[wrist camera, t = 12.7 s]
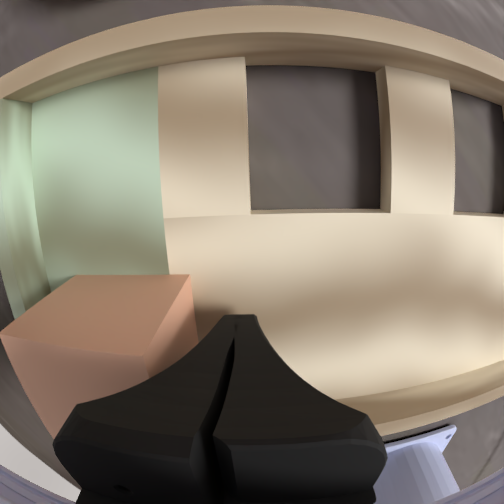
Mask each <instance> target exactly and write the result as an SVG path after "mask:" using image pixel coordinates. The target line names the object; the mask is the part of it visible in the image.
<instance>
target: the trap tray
mask: <svg viewBox="0 0 504 504" xmlns="http://www.w3.org/2000/svg"><path fill="white" fill-rule="evenodd" d="M253 65H298V66H319V67H332V68H343V69H352V70H361V71H368V72H375V74H376V84H377V94H378V107H379V123H380V148H381V197H380V209H276V210H251V198H250V170H249V142H248V114H247V87H246V66H253ZM450 89H453V90H457V91H460V92H463V93H466V94H470V95H473V96H476V97H479V98H481V99H484V100H487V101H490V102H493V103H495V104H498V105H500V106H502V110H503V120H504V60H502V59H500V58H498V57H496V56H494V55H492V54H490V53H488V52H485V51H483V50H481V49H479V48H477V47H474V46H472V45H470V44H467V43H465V42H462V41H460V40H457V39H454V38H452V37H449V36H446V35H443V34H441V33H438V32H435V31H432V30H428V29H425V28H422V27H419V26H415V25H412V24H408V23H404V22H400V21H396V20H392V19H388V18H383V17H378V16H374V15H368V14H363V13H357V12H351V11H344V10H336V9H327V8H317V7H304V6H280V5H259V6H235V7H221V8H211V9H202V10H195V11H188V12H181V13H175V14H170V15H165V16H160V17H155V18H150V19H146V20H142V21H138V22H134V23H130V24H126V25H122V26H119V27H116V28H112V29H109V30H106V31H103V32H100V33H97V34H94V35H91V36H88V37H85V38H82V39H80V40H77V41H74V42H72V43H69V44H67V45H65V46H62V47H60V48H57V49H55V50H53V51H51V52H48V53H46V54H44V55H42V56H40V57H38V58H36V59H34V60H32V61H30V62H28V63H26V64H24V65H22V66H20V67H18V68H16V69H15V70H13V71H11V72H9V73H7V74H6V75H4V76H2V77H1V78H0V270H1V274H2V278H3V282H4V286H5V289H6V293H7V296H8V300H9V303H10V306H11V309H12V312H13V316H14V319H15V320H16V319H17V318H18V317H19V316H21V315H22V314H23V313H25V312H26V311H27V310H28V309H30V308H31V307H32V306H34V305H35V304H36V303H38V302H39V301H40V300H42V299H43V298H44V297H46V296H47V295H49V294H50V293H51V292H53V291H54V290H55V289H57V288H58V287H60V286H61V285H62V284H64V283H65V282H67V281H68V280H70V279H71V278H72V277H74V276H75V275H172V274H190V278H191V287H192V296H193V304H194V312H195V320H196V327H197V334H198V341H199V342H200V341H201V340H202V339H203V338H204V337H205V336H206V335H207V334H208V333H209V332H210V330H211V329H212V328H213V327H214V326H215V325H216V324H217V322H218V321H219V320H220V319H221V318H222V317H223V316H224V315H231V314H255V315H256V316H257V319H258V322H259V325H260V327H261V329H262V331H263V333H264V334H265V336H266V338H267V339H268V341H269V342H270V344H271V345H272V347H273V348H274V350H275V351H276V352H277V353H278V355H279V356H280V357H281V358H282V359H283V361H284V362H285V363H286V364H287V365H288V366H289V367H290V368H291V369H292V370H293V371H294V372H295V373H296V374H298V375H299V376H300V377H301V378H302V379H303V380H305V381H306V382H307V383H309V384H310V385H311V386H313V387H314V388H316V389H317V390H319V391H320V392H322V393H323V394H325V395H327V396H329V397H330V398H332V399H334V400H336V401H338V402H340V403H342V404H344V405H347V406H349V407H351V408H354V409H356V410H358V411H361V412H363V413H366V414H367V415H368V416H369V418H370V419H371V421H372V423H373V424H374V426H375V428H376V429H377V431H378V433H379V434H380V436H384V435H388V434H393V433H397V432H401V431H405V430H409V429H413V428H416V427H420V426H423V425H427V424H430V423H433V422H437V421H440V420H443V419H446V418H449V417H452V416H455V415H457V414H460V413H463V412H466V411H468V410H471V409H473V408H476V407H478V406H481V405H483V404H486V403H488V402H490V401H493V400H495V399H497V398H499V397H501V396H504V213H503V214H494V213H478V212H459V211H453V209H454V192H455V139H454V122H453V109H452V100H451V91H450Z"/></svg>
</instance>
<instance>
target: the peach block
mask: <svg viewBox="0 0 504 504" xmlns="http://www.w3.org/2000/svg"><path fill="white" fill-rule="evenodd" d="M0 338H1V341H2V343H3V346H4V348H5V350H6V353H7V355H8V357H9V360H10V362H11V364H12V366H13V368H14V370H15V373H16V375H17V377H18V379H19V381H20V383H21V385H22V387H23V389H24V390H25V392H26V394H27V396H28V398H29V400H30V401H31V403H32V405H33V407H34V408H35V410H36V412H37V414H38V415H39V417H40V418H41V420H42V422H43V423H44V425H45V426H46V428H47V430H48V431H49V433H50V434H51V436H52V437H53V439H55V437H56V435H57V434H58V432H59V431H60V429H61V427H62V426H63V424H64V423H65V421H66V419H67V418H68V416H69V415H70V413H71V412H72V410H73V409H74V407H75V406H76V404H79V403H84V402H88V401H92V400H95V399H99V398H103V397H106V396H109V395H112V394H115V393H118V392H121V391H123V390H126V389H128V388H131V387H133V386H135V385H137V384H140V383H142V382H144V381H145V380H147V379H149V378H151V377H153V376H155V375H156V374H158V373H160V372H162V371H164V370H165V369H167V368H168V367H170V366H171V365H173V364H174V363H175V362H177V361H178V360H180V359H181V358H182V357H183V356H185V355H186V354H187V353H188V352H189V351H190V350H191V349H193V348H194V347H195V346H196V345H197V344H198V343H199V341H198V334H197V327H196V320H195V312H194V304H193V296H192V287H191V278H190V274H172V275H75V276H74V277H72V278H71V279H70V280H68V281H67V282H65V283H64V284H62V285H61V286H60V287H58V288H57V289H55V290H54V291H53V292H51V293H50V294H49V295H47V296H46V297H44V298H43V299H42V300H40V301H39V302H38V303H36V304H35V305H34V306H32V307H31V308H30V309H28V310H27V311H26V312H25V313H23V314H22V315H21V316H19V317H18V318H17V319H16V320H14V321H13V322H12V323H10V324H9V325H8V326H7V327H5V328H4V329H3V330H2V331H0Z"/></svg>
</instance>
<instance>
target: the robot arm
mask: <svg viewBox="0 0 504 504" xmlns="http://www.w3.org/2000/svg"><path fill="white" fill-rule="evenodd" d="M455 431H456V426H455V425H450V426H447V427H444V428H441V429H438V430H435V431H432V432H428V433H425V434H422V435H418V436H415V437H411V438H408V439H404V440H400V441H396V442H392V443H388V444H384V443H383V440H382V438H381V436H380V434H379V433H378V431H377V429H376V428H375V426H374V424H373V423H372V421H371V419H370V418H369V416H368V415H367V414H366V413H363V412H361V411H358V410H356V409H354V408H351V407H349V406H347V405H344V404H342V403H340V402H338V401H336V400H334V399H332V398H330V397H329V396H327V395H325V394H323V393H322V392H320V391H319V390H317V389H316V388H314V387H313V386H311V385H310V384H309V383H307V382H306V381H305V380H303V379H302V378H301V377H300V376H299V375H298V374H296V373H295V372H294V371H293V370H292V369H291V368H290V367H289V366H288V365H287V364H286V363H285V362H284V361H283V359H282V358H281V357H280V356H279V355H278V353H277V352H276V351H275V350H274V348H273V347H272V345H271V344H270V342H269V341H268V339H267V338H266V336H265V334H264V333H263V331H262V329H261V327H260V325H259V322H258V319H257V316H256V315H255V314H231V315H224V316H223V317H222V318H221V319H220V320H219V321H218V322H217V324H216V325H215V326H214V327H213V328H212V329H211V330H210V332H209V333H208V334H207V335H206V336H205V337H204V338H203V339H202V340H201V341H200V342H199V343H198V344H197V345H196V346H195V347H194V348H193V349H191V350H190V351H189V352H188V353H187V354H186V355H185V356H183V357H182V358H181V359H180V360H178V361H177V362H175V363H174V364H173V365H171V366H170V367H168V368H167V369H165V370H164V371H162V372H160V373H158V374H156V375H155V376H153V377H151V378H149V379H147V380H145V381H144V382H142V383H140V384H137V385H135V386H133V387H131V388H128V389H126V390H123V391H121V392H118V393H115V394H112V395H109V396H106V397H103V398H99V399H95V400H92V401H88V402H84V403H79V404H76V406H75V407H74V409H73V410H72V412H71V413H70V415H69V416H68V418H67V419H66V421H65V423H64V424H63V426H62V427H61V429H60V431H59V432H58V434H57V435H56V437H55V439H54V442H53V448H54V451H55V454H56V456H57V457H58V459H59V461H60V462H61V464H62V465H63V466H64V467H65V469H66V470H67V471H68V472H69V473H70V475H71V476H72V477H73V478H74V479H75V480H76V482H77V483H78V484H79V485H80V486H81V487H82V490H81V492H80V494H79V497H78V499H77V501H76V502H73V501H70V500H68V499H66V498H63V497H61V496H59V495H57V494H54V493H52V492H50V491H48V490H46V489H44V488H42V487H40V486H38V485H36V484H34V483H32V482H30V481H28V480H26V479H24V478H22V477H20V476H19V475H17V474H15V473H13V472H12V471H10V470H8V469H7V468H5V467H3V466H2V465H0V504H504V467H503V468H502V469H500V470H498V471H497V472H495V473H493V474H491V475H490V476H488V477H486V478H484V479H482V480H481V481H479V482H477V483H475V484H473V485H471V486H469V487H467V488H465V489H463V490H461V491H460V490H459V487H458V485H457V483H456V481H455V479H454V477H453V475H452V473H451V471H450V469H449V467H448V465H447V463H446V461H445V459H444V457H443V455H442V452H443V450H444V449H445V447H446V446H447V444H448V442H449V441H450V439H451V438H452V436H453V434H454V433H455Z"/></svg>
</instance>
